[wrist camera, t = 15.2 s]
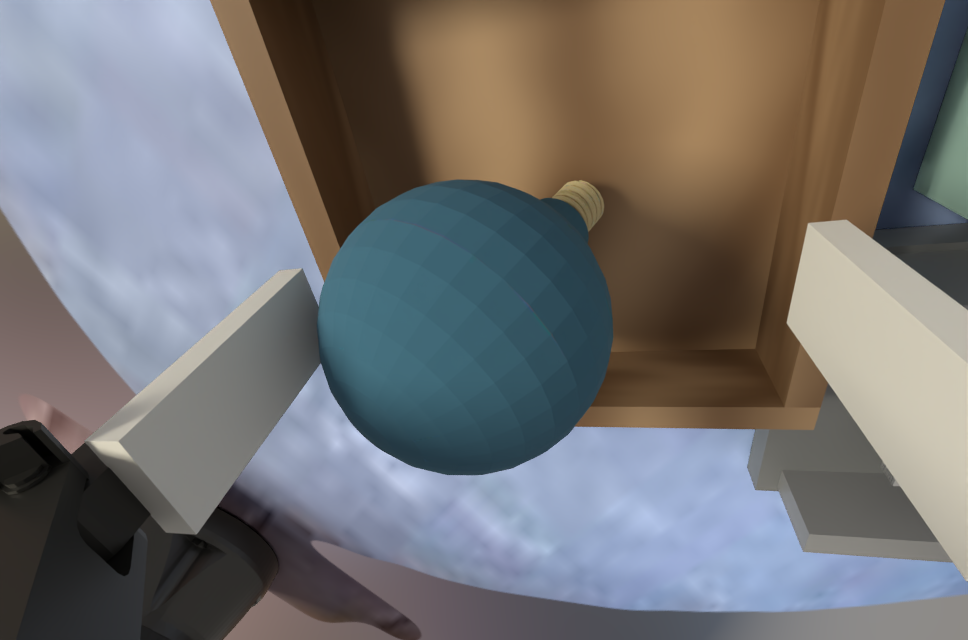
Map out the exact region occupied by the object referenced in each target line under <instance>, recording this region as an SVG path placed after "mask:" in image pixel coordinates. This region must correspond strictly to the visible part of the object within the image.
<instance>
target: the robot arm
mask: <svg viewBox="0 0 968 640" xmlns="http://www.w3.org/2000/svg"><path fill="white" fill-rule="evenodd" d="M318 309H319V307H318V304H317V302H316V300H315V297H314V295H313V292H312V290H311V288H310V285H309V283H308V281H307V278H306V276H305V273H304V271H303V269H290V270H280V271H278V272H277V273H276V274H275V275H274V276H273V277H272V278H270V279H269V280H268V281H267V282H266V283H265V284H264V285H262V286H261V287H260V288H259V289H258V290H257V291H256V292H254V293H253V294H252V295H251V296H250V297H249V298H248V299H246V300H245V301H244V302H243V303H242V304H241V305H240V306H238V307H237V308H236V309H235V310H234V311H233V312H232V313H230V314H229V315H228V316H227V317H226V318H225V319H224V320H222V321H221V322H220V323H219V324H218V325H217V326H215V327H214V328H213V329H212V330H211V331H210V332H209V333H207V334H206V335H205V336H204V337H203V338H202V339H201V340H199V341H198V342H197V343H196V344H195V345H194V346H193V347H191V348H190V349H189V350H188V351H187V352H186V353H185V354H183V355H182V356H181V357H180V358H179V359H178V360H177V361H175V362H174V363H173V364H172V365H171V366H170V367H169V368H167V369H166V370H165V371H164V372H163V373H162V374H161V375H159V376H158V377H157V378H156V379H155V380H154V381H152V382H151V383H150V384H149V385H148V386H147V387H146V388H144V389H143V390H142V391H141V392H140V393H139V394H138V395H136V396H135V397H134V398H133V399H132V400H131V401H130V402H128V403H127V404H126V405H125V406H124V407H123V408H122V409H121V410H119V411H118V412H117V413H116V414H115V415H114V416H112V417H111V418H110V419H109V420H108V421H107V422H106V423H104V424H103V425H102V426H101V427H100V428H99V429H98V430H96V431H95V432H94V433H93V434H92V435H91V436H89V437H88V438H87V439H86V440H85V441H84V442H85V443H84V444H83V445H82V446H80V447H79V448H78V449H77V450H76V451H75V452H74V453H72V454H70V453H69V452H68V451H67V450H66V449H65V448H64V447H63V446H62V444H61V443H60V442H59V441H58V440H57V439H56V438H55V437H54V436H53V435H52V434H51V433H50V432H49V431H48V430H47V428H46V427H45V426H44V425H43V424H42V423H40V422H38V421H36V420H30V421H22V422H19V423H16V424H13V425H9V426H7V427H4V428H2V429H0V640H223V639H224V638H225V637H226V636H227V635H228V634H229V633H230V632H231V631H232V629H233V628H234V627H235V626H236V625H237V624H238V623H239V621H240V620H241V619H242V618H243V617H244V616H245V614H246V613H247V612H248V611H249V609H250V608H251V607H253V606H255V605H256V604H257V603H258V602H259V601H260V600H261V599H262V598H263V597H264V595H265V594H266V592H267V590H268V589H269V587H270V585H271V583H272V581H273V579H274V578H275V576H276V574H277V572H278V561H277V558H276V556H275V554H274V552H273V551H272V549H271V548H270V547H269V545H268V544H267V543H266V542H265V541H264V540H263V539H262V538H261V537H260V536H259V535H258V534H257V533H255V532H254V531H253V530H252V529H251V528H249V527H248V526H246V525H245V524H244V523H242V522H241V521H239V520H238V519H236V518H234V517H233V516H231V515H229V514H227V513H225V512H224V511H222V510H220V509H217V508H216V507H217V506H218V504H219V503H220V501H221V500H222V499H223V497H224V496H225V495H226V493H227V492H228V490H229V489H230V488H231V486H232V485H233V483H234V482H235V481H236V479H237V478H238V477H239V475H240V474H241V472H242V471H243V470H244V468H245V467H246V466H247V464H248V463H249V461H250V460H251V459H252V457H253V456H254V454H255V453H256V452H257V450H258V449H259V448H260V446H261V445H262V443H263V442H264V441H265V439H266V438H267V436H268V435H269V434H270V432H271V431H272V430H273V428H274V427H275V425H276V424H277V423H278V421H279V420H280V418H281V417H282V416H283V414H284V413H285V412H286V410H287V409H288V407H289V406H290V405H291V403H292V402H293V401H294V399H295V398H296V396H297V395H298V394H299V392H300V391H301V389H302V388H303V387H304V385H305V384H306V383H307V381H308V380H309V378H310V377H311V376H312V374H313V373H314V371H315V370H316V369H317V367H318V366H319V365H320V363H321V361H320V355H319V345H318V334H317V317H318ZM787 324H788V326H789V327H790V329H791V330H792V332H793V333H794V334H795V336H796V337H797V339H798V340H799V342H800V343H801V344H802V346H803V347H804V349H805V350H806V352H807V353H808V355H809V356H810V357H811V359H812V360H813V362H814V363H815V365H816V366H817V367H818V369H819V370H820V372H821V373H822V375H823V376H824V378H825V379H826V380H827V382H828V383H829V385H830V386H831V388H832V389H833V390H834V392H835V393H836V395H837V396H838V398H839V399H840V401H841V402H842V403H843V405H844V406H845V408H846V409H847V411H848V412H849V413H850V415H851V416H852V418H853V419H854V421H855V422H856V423H857V425H858V426H859V428H860V429H861V431H862V432H863V434H864V435H865V436H866V438H867V439H868V441H869V442H870V444H871V445H872V446H873V448H874V449H875V451H876V452H877V454H878V455H879V457H880V458H881V459H882V461H883V462H884V464H885V465H886V467H887V468H888V469H889V471H890V472H891V474H892V475H893V477H894V478H895V480H896V481H897V482H898V484H899V485H900V487H901V488H902V490H903V491H904V492H905V494H906V495H907V497H908V498H909V500H910V501H911V503H912V504H913V505H914V507H915V508H916V510H917V511H918V513H919V514H920V515H921V517H922V518H923V520H924V521H925V523H926V524H927V526H928V527H929V528H930V530H931V531H932V533H933V534H934V536H935V537H936V538H937V540H938V541H939V543H940V544H941V546H942V547H943V549H944V550H945V551H946V553H947V554H948V556H949V557H950V559H951V560H952V561H953V563H954V564H955V566H956V567H957V569H958V570H959V572H960V573H961V574H962V576H963V577H964V579H965V580H966V582H968V310H967V309H966V308H964V307H963V306H962V305H960V304H959V303H958V302H956V301H955V300H954V299H952V298H951V297H950V296H948V295H947V294H946V293H944V292H943V291H942V290H940V289H939V288H937V287H936V286H935V285H933V284H932V283H931V282H929V281H928V280H927V279H925V278H924V277H923V276H921V275H920V274H919V273H917V272H916V271H915V270H913V269H912V268H911V267H909V266H908V265H907V264H905V263H904V262H903V261H901V260H900V259H899V258H897V257H896V256H895V255H893V254H892V253H891V252H889V251H888V250H887V249H885V248H884V247H883V246H881V245H880V244H879V243H877V242H876V241H874V240H873V239H872V238H870V237H869V236H868V235H866V234H865V233H864V232H862V231H861V230H860V229H858V228H857V227H856V226H854V225H853V224H852V223H850V222H849V221H848V220H837V221H826V222H814V223H808V226H807V231H806V235H805V240H804V244H803V249H802V254H801V258H800V263H799V268H798V272H797V277H796V281H795V286H794V291H793V295H792V300H791V305H790V309H789V314H788V318H787Z"/></svg>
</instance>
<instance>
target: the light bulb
mask: <svg viewBox="0 0 968 640" xmlns="http://www.w3.org/2000/svg"><path fill="white" fill-rule="evenodd" d="M603 212H604V202H603V198H602V196H601V194H600V192H599V191H598V190H597V189H596V188H595V187H594V186H593V185H591V184H590V183H588V182H585V181H582V180H579V181H571V182H568V183H566V184H565V185H564V186H563V187H562V188H561V189H560V190H559V191H558V192H557V193H556V194H555V195H554V196H553V197H552V198H543V199H540V200H539V199H538V198H536V197H534V196H532V195H530V194H528V193H526V192H523V191H521V190H518V189H515V188H512V187H509V186H506V185H504V184H501V183H498V182H490V181H482V180H459V179H457V180H448V181H440V182H435V183H431V184H428V185H424V186H420V187H416V188H414V189H412V190H409V191H407V192H405V193H403V194H401V195H399V196H397V197H395V198H394V199H392V200H390V201H388V202H386V203H385V204H383V205H381V206H379V207H378V208H376V209H375V210H374V211H373V212H372V213H371V214H370V215H369V216H368V217H367V218H366V219H365V220H364V221H363V222H361V223H360V224H359V225H358V226H357V227H356V228H355V230H354V231H353V232H352V233H351V234H350V235H349V236H348V238H347V239H346V241H345V242H344V244H343V245H342V247H341V248H340V250H339V251H338V253H337V254H336V256H335V257H334V259H333V261H332V263H331V266H330V269H329V271H328V274H327V277H326V280H325V282H324V285H323V288H322V292H321V295H320V302H319V309H318V317H317V334H318V345H319V355H320V361H321V364H322V367H323V370H324V373H325V376H326V379H327V382H328V385H329V387H330V390H331V393H332V394H333V396H334V398H335V399H336V401H337V402H338V404H339V405H340V407H341V408H342V410H343V412H344V413H345V415H346V416H347V418H348V419H349V420H350V422H351V423H352V424H353V426H354V427H355V428H356V429H357V430H358V431H359V432H360V433H361V434H362V435H363V436H364V437H365V438H366V439H368V440H369V441H370V442H371V443H372V444H374V445H375V446H376V447H378V448H379V449H381V450H382V451H384V452H386V453H388V454H389V455H391V456H393V457H395V458H397V459H399V460H401V461H403V462H404V463H406V464H408V465H411V466H413V467H416V468H420V469H424V470H429V471H433V472H437V473H441V474H446V475H484V474H489V473H493V472H498V471H502V470H507V469H511V468H514V467H516V466H518V465H520V464H522V463H524V462H526V461H529V460H531V459H533V458H535V457H537V456H539V455H541V454H542V453H544V452H546V451H548V450H549V449H550V448H551V447H553V446H554V445H555V444H557V443H558V442H559V441H560V440H562V439H563V438H564V437H565V436H567V435H568V434H569V433H570V432H571V430H572V429H573V428H574V427H575V425H576V424H577V423H578V422H579V420H580V419H581V418H582V417H583V415H584V414H585V413H586V411H587V410H588V409H589V407H590V406H591V404H592V403H593V402H594V400H595V398H596V396H597V393H598V391H599V389H600V387H601V385H602V383H603V381H604V378H605V375H606V371H607V367H608V363H609V358H610V353H611V348H612V343H613V317H612V306H611V297H610V294H609V290H608V286H607V283H606V279H605V277H604V275H603V273H602V271H601V269H600V266H599V264H598V262H597V260H596V258H595V256H594V254H593V252H592V250H591V248H590V247H589V245H588V239H589V234H588V232H589V231H590V230H591V228H592V227H593V226H594V225H595V224H596V223H597V221H598V220H599V219H600V218H601V216H602V214H603Z"/></svg>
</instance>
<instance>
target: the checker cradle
mask: <svg viewBox="0 0 968 640" xmlns="http://www.w3.org/2000/svg"><path fill="white" fill-rule="evenodd" d="M872 239H873V240H874V241H876V242H877V243H879V244H880V245H881V246H883V247H884V248H885V249H887V250H888V251H889V252H891V253H892V254H893V255H895V256H896V257H897V258H899V259H900V260H901V261H903V262H904V263H905V264H907V265H908V266H909V267H911V268H912V269H913V270H915V271H916V272H917V273H919V274H920V275H921V276H923V277H924V278H925V279H927V280H928V281H929V282H931V283H932V284H933V285H935V286H936V287H937V288H939V289H940V290H942V291H943V292H944V293H946V294H947V295H948V296H950V297H951V298H952V299H954V300H955V301H956V302H958V303H959V304H960V305H962V306H963V307H964V308H966V309H967V310H968V223H959V224H946V225H933V226H920V227H906V228H893V229H880V230H875V232H874V235H873V238H872ZM882 462H883V461H882V459H881V458H880V457H879V455H878V454H877V452H876V451H875V449H874V448H873V446H872V445H871V444H870V442H869V441H868V439H867V438H866V436H865V435H864V434H863V432H862V431H861V429H860V428H859V426H858V425H857V423H856V422H855V421H854V419H853V418H852V416H851V415H850V413H849V412H848V411H847V409H846V408H845V406H844V405H843V403H842V402H841V401H840V399H839V398H838V396H837V395H836V393H835V392H834V390H833V389H832V388H831V386H830V385H829V383H828V385H827V388H826V392H825V395H824V398H823V401H822V405H821V408H820V411H819V414H818V418H817V421H816V424H815V427H814V430H779V429H755V433H754V437H753V442H752V447H751V452H750V457H749V461H748V466H747V468H748V471H749V473H750V476H751V479H752V482H753V485H754V488H755V490H765V491H779V493H780V495H781V498H782V500H783V503H784V505H785V508H786V510H787V513H788V515H789V518H790V520H791V523H792V525H793V528H794V530H795V533H796V535H797V538H798V540H799V543H800V545H801V548H802V550H803V552H813V553H827V554H841V555H855V556H869V557H883V558H897V559H911V560H925V561H939V562H953V561H952V560H951V559H950V557H949V556H948V554H947V553H946V551H945V550H944V549H943V547H942V546H941V544H940V543H939V541H938V540H937V538H936V537H935V536H934V534H933V533H932V531H931V530H930V528H929V527H928V526H927V524H926V523H925V521H924V520H923V518H922V517H921V515H920V514H919V513H918V511H917V510H916V508H915V507H914V505H913V504H912V503H911V501H910V500H909V498H908V497H907V495H906V494H905V492H904V491H903V490H902V488H901V487H900V486H892V484H891V483H890V481H889V480H888V478H887V476H886V475H885V473H884V472H883V470H882V469H881V467H880V466H881V464H882Z"/></svg>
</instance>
